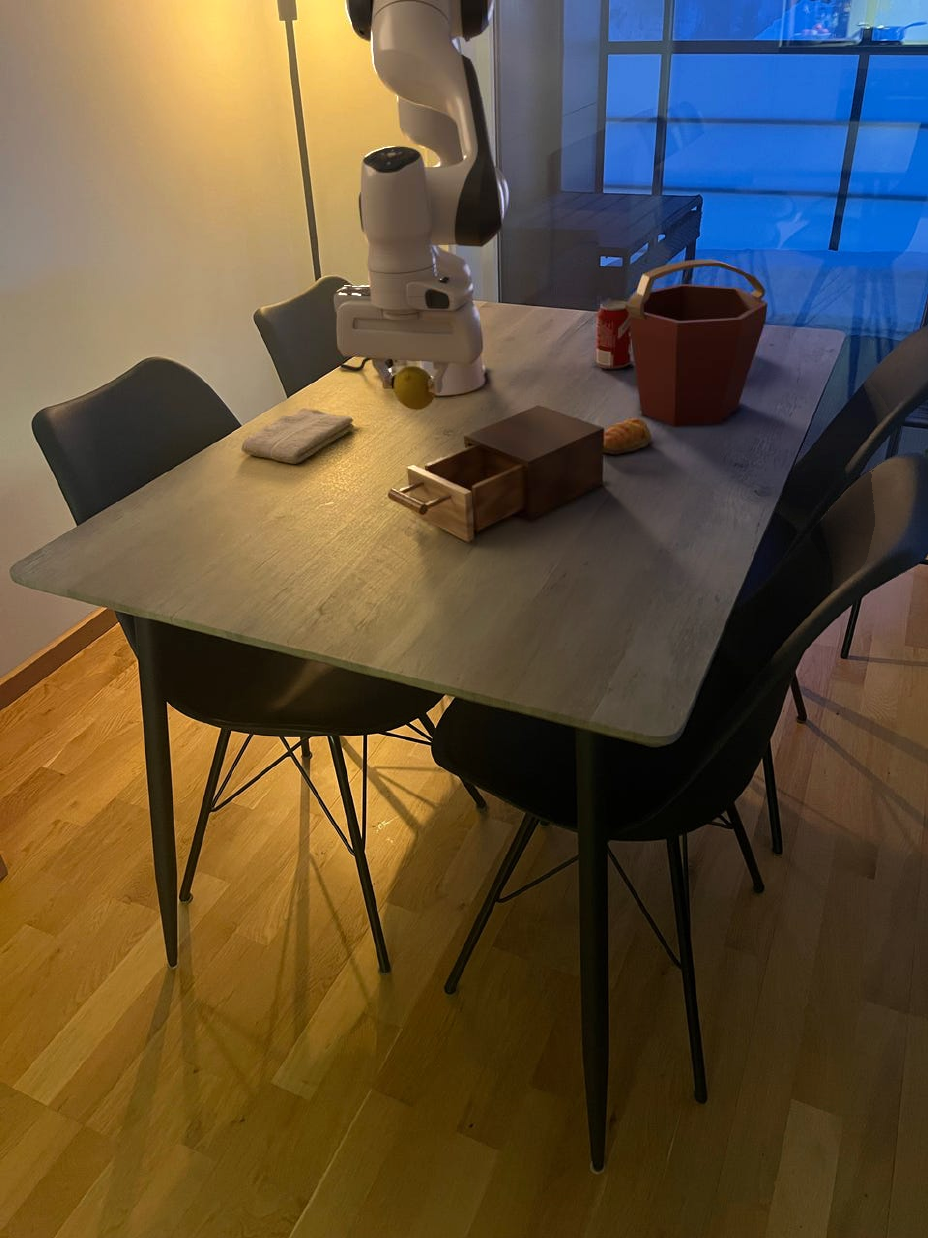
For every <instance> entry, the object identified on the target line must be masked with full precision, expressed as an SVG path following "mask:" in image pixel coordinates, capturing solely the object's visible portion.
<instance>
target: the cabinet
mask: <svg viewBox="0 0 928 1238" xmlns="http://www.w3.org/2000/svg"><path fill="white" fill-rule="evenodd" d="M604 432H605V427H603V426H600V425H598V424H594V423H592V422H588V421H586V420H582V419H580V418H577V417H573V416H572V415H568V414H565V413H562V412H559V411H556V410H553V409H551V408H548V407H545V406H542V405H540V404H537V405H536V406H533V407H531V408H529V409H526V410H524V411H521V412H519V413H515V414H514V415H511V416H509V417H507V418H504V419H501V420H499V421H497V422H494V423H492V424H489V425H487V426H485V427H481V428H479V429H477V430H474V431H472V432H470V433H467V434H464V435H463V439H464V442H463V443H464V448H466V447H469V446H471V445H475V446H478V447H480V448H483V449H485V450H488V451H490V452H492V453H495V454H497V455H500V456H502V457H505V458H507V459H510V460H512V461H514V462H517V463H519V464H522V465H524V466H525V503H526V508H524V509H522V510H520V511H518V512H516V513H515V514H516V515H517V516H520V517H521V518H524V519H526V520H528V521H531V520H533V519H535V518H537V517H539V516H541V515H543V514H546V513H548V512H549V511H552V510H553V509H555V508H558V507H559V506H562V505H564V504H565V503H567V502H569V501H571V500H573V499H576V498H579V496H582V495H583V494H585V493H587V492H590V491H591V490H594V489H596V488H598V487H600V486H601V485H603V483H604V482H603V480H604V478H603V477H604V452H603V451H604Z"/></svg>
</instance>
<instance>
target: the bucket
mask: <svg viewBox="0 0 928 1238" xmlns="http://www.w3.org/2000/svg"><path fill="white" fill-rule="evenodd" d="M703 267H717V268H718V267H719V268H721V269H725V270H728V271H731V272H734V273H736V274H737V275H738V274H739V275H740V276H743V277H744V278H745V279H746V280H747V282H748V283H749V284H750V285H751V286H752V288H753V289H754V290H753V291H752V292H751V293H750V292H748V291H746V290H744V289H743V288H741V287H734V286H719V285H705V284H687V283H679V284H675V285H671V286H666V287H661V288H656V289H653V285H654V284H655V281H656V280H659V279H661V278H663V277H666V276H668V275H671V274H674V273H677V272H680V271H685V270H688V269H694V268H703ZM765 295H766V289H765V286H763V285H762V283H761V282H760V281H759V280H758V278H756V275H752V274H750V273H748V272H746V271H744V270H742V269H740V268H739V267H736V266H734V265H731V264H729V263H725V262H723V261H719V260H716V259H694V260H693V259H692V260H682V261H678V262H674V263H670V264H669V263H668V264H666V265H662V266H659V267H656V268H653V269H650V270H649V271H647V272H645V273H642V275H641V276H640V280H639V282H638V285H637V289H636V292H635V293H634V294H633V295H631V296H630V298H628V300H627V301H626V302H627V303H626V304H625V307H626V309H627V311H628V313H629V315H630V335H631V350H632V355H633V356H632V357H633V363H634V370H635V376H636V384H637V390H638V397H639V404H640V411H641V415H643V416H645V417H649V418H651V419H654V420H657V421H660V422H663V423H665V424H668V425H672V426H674V427H677V426H693V425H711V424H712V425H713V424H719V423H720V422H721V421H723V420H724V419H726V418H727V417H728V416H730V415H731V414H732V413H733V412H735V411H736V410H737V409H738V407H739V404H740V400H741V397H742V394H743V391H744V388H745V385H746V382H747V378H748V376H749V373H750V370H751V367H752V364H753V362H754V361H753V360H754V358H755V354H756V351H757V348H758V345H759V342H760V339H761V336H762V333H763V330H764V327H765V324H766V321H767V320H766V319H767V312H768V306H769V305H768V304H769V303H768V302H767V301H765V300H763V298H764V296H765Z"/></svg>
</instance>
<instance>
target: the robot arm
mask: <svg viewBox="0 0 928 1238" xmlns="http://www.w3.org/2000/svg"><path fill="white" fill-rule="evenodd" d="M495 2H496V0H344V4H345V11H346V13H347V17H348V19H349V22H350V24H351V28H352V30H353V32H354V33H355V34H356V35H357V36H358V37H359V39H360V40H363V41H365V42H370V44H371V46H370V47H371V56H372V64H373V68H374V71H375V73H376V75H377V77H378V78H379V81H381V83H382V84H383V85H384V86H385V88H386V89H388V90H389V91H390V92H391V93H392V94H393V95H395V97H397V113H398V124H399V128H400V131H401V133H402V134H403V136H404V137H405V138H406V139H407V140H408V141H409V142H410V143H412V144H414V145H415V146H417V147H420V148H422V149H424V150H426V151H429V152H430V153H432V154H433V155H435V156H436V158H438V164H436V165H433V166H425V161H424V159H423V154H422V153H421V152H420V151H419V150H417V149H415V148H412V147H410V146H409V147H408V146H404V145H393V146H384V147H380V148H379V149H378V148H377V149H375V150H372V151H371V152H369V153H367V154H366V155H365V156H364V157H363V159H362V161H361V168H360V169H361V171H360V192H359V195H358V210H359V211H358V212H359V220H360V221H359V222H360V228H361V232H362V234H363V235H364V238H365V240H366V242H367V245H368V246H367V249H368V254H367V255H368V256H367V262H366V266H367V275H368V284H369V285H358V286H357V285H355V286H354V285H348V284H346V285H342V287H341V288H339V289H337V291H335V293H334V296H333V306H334V311H335V313H336V343H337V344H336V345H337V350H339V352H340V353H341V355H342V356H343V357H351V358H363V360H362V361H361V364H360V366H352V365H348V364H345V363H340V368H343V369H347V370H350V371H356V372H358V371H362V370H363V369H364V368H365V365H366V363H367V362H368V361H371V363H372V367H373V369H374V370H375V371H376V373H377V374H378V376H379V377H380V378H381V384H382V389H383V390H394V380H395V377H396V375H397V374H398V372H399V371H400V370H402V369H403V368H405V367H409V366H416V367H419V368H421V369H423V370H425V371H426V372H427V373H428V374H429V375H430V376H431V378H430V379H429V380H428V386H429V388H428V391H429V392H432V393H435V396H455V395H461V394H465V393H469V392H472V391H475V390H477V389H479V388H480V387H482V386H483V385H484V384H485V382H486V377H485V373H486V372H487V368H486V365H485V364H483V360H482V353H483V351H484V338H483V337H484V336H483V329H482V328H483V327H482V323H481V317H480V313H479V311H478V310H479V309H478V308H477V306H476V305H475V304H474V301H473V299H474V298H473V295H474V285H473V281H472V270H471V268H470V265H469V263H467V261H466V260H465V259H464V258H463V257H461V256H460V255H458V254H456V253H453V252H451V251H449V250H446V249H444V248H442V247H440V246H452V245H454V246H455V245H456V246H458V247H475V248H476V247H477V248H478V247H479V248H482V247H484V246H485V245H487V244H488V243H489V242H490V241H491V240H493V239H494V238H495V237H496V236H497V234H499V232H500V231H501V230H502V229H503V223H504V219H505V215H506V212H507V211H508V208H509V202H510V189H509V185H508V183H507V180H506V178H505V176H504V174H503V173H502V171H500V169H499V168H498V167H497V166H496V165H495V163H494V157H493V150H492V145H491V138H490V135H489V134H490V133H489V130H488V129H489V127H488V123H487V116H486V112H485V107H484V101H483V97H482V94H481V88H480V84H479V79H478V74H477V72H476V71H477V70H476V69H475V66H474V64H473V62H472V60H471V58H470V57H468V56H466V55H464V54H463V53H462V46H461V40H460V38H462V39H463V40H464V41H465V43H468V42H470V41H471V39H473V38H476V37H478V36H480V35H482V34H483V33H484V32H485V31H486V30H487V29H488V28H489V26H490V21H491V19H492V16H493V13H494V9H495V4H496V3H495Z"/></svg>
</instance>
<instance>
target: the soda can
mask: <svg viewBox="0 0 928 1238" xmlns="http://www.w3.org/2000/svg"><path fill="white" fill-rule="evenodd" d="M627 302H628V301H624V300H608V301H604V302H602V303H600V309H599V310H598V311H597V313H596V344H595V363H596V364H597V366H599V367H600V368H602V369H605V370H620V369H623V368H625V367H627V366H628V365H629V364H630V363H631V356H632V355H631V353H632V351H631V350H632V342H631V335H630V315H629V313H628V311H627V309H626V307H625V304H626V303H627Z"/></svg>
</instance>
